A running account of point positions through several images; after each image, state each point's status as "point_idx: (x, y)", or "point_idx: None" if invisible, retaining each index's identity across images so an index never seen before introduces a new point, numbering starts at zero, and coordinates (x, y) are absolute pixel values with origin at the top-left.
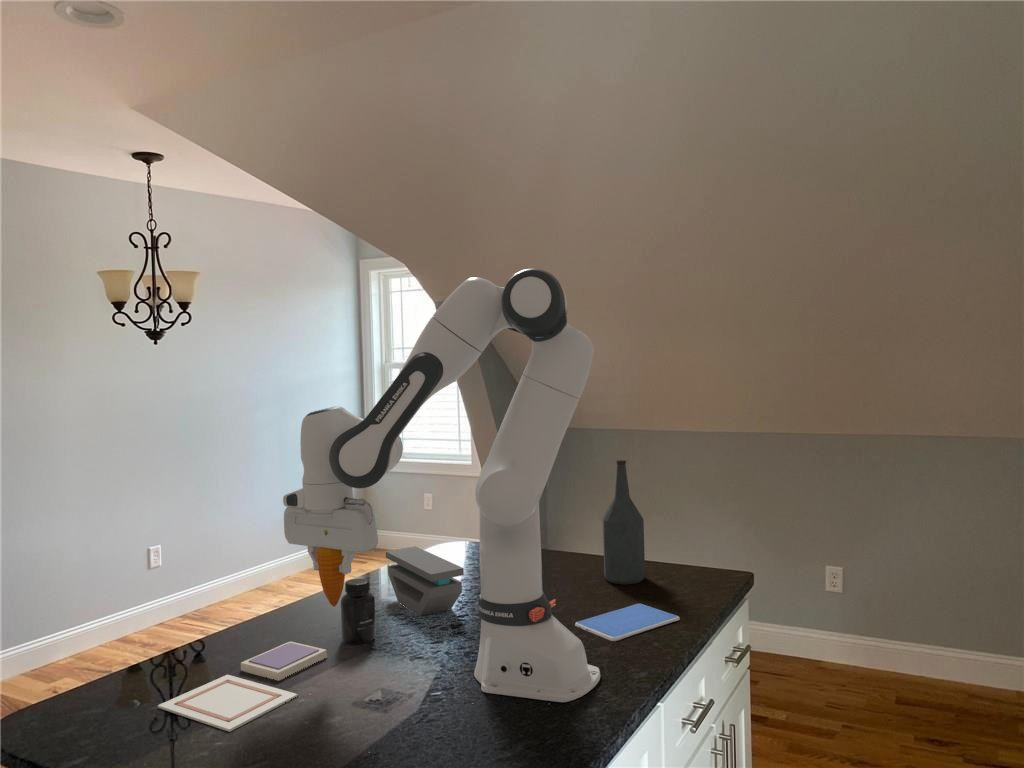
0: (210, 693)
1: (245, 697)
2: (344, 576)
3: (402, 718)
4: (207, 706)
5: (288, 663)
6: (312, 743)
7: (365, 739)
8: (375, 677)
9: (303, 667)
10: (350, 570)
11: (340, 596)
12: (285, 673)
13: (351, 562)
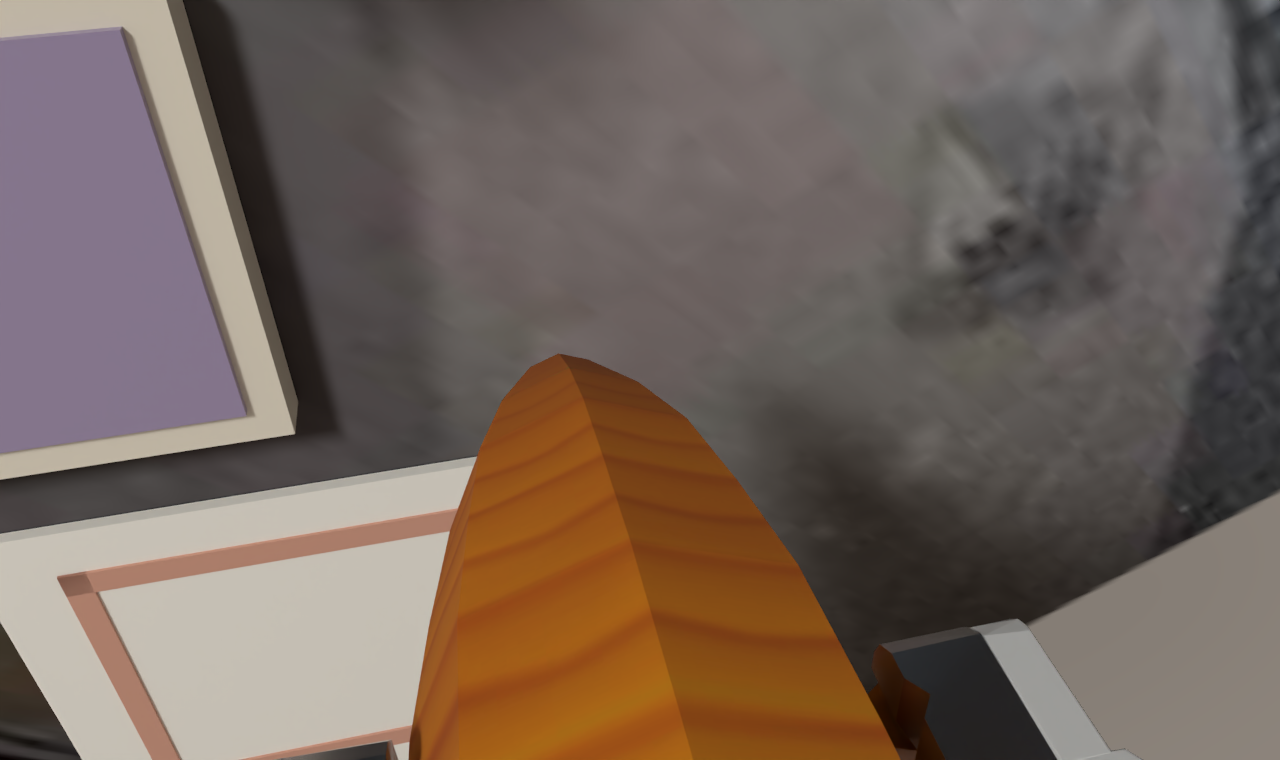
0: (182, 676)
1: (382, 600)
2: (770, 528)
3: (1206, 289)
4: (325, 718)
5: (219, 341)
6: (957, 588)
7: (1130, 472)
8: (810, 20)
9: (243, 216)
10: (1028, 646)
11: (632, 379)
12: (283, 369)
13: (1126, 751)
